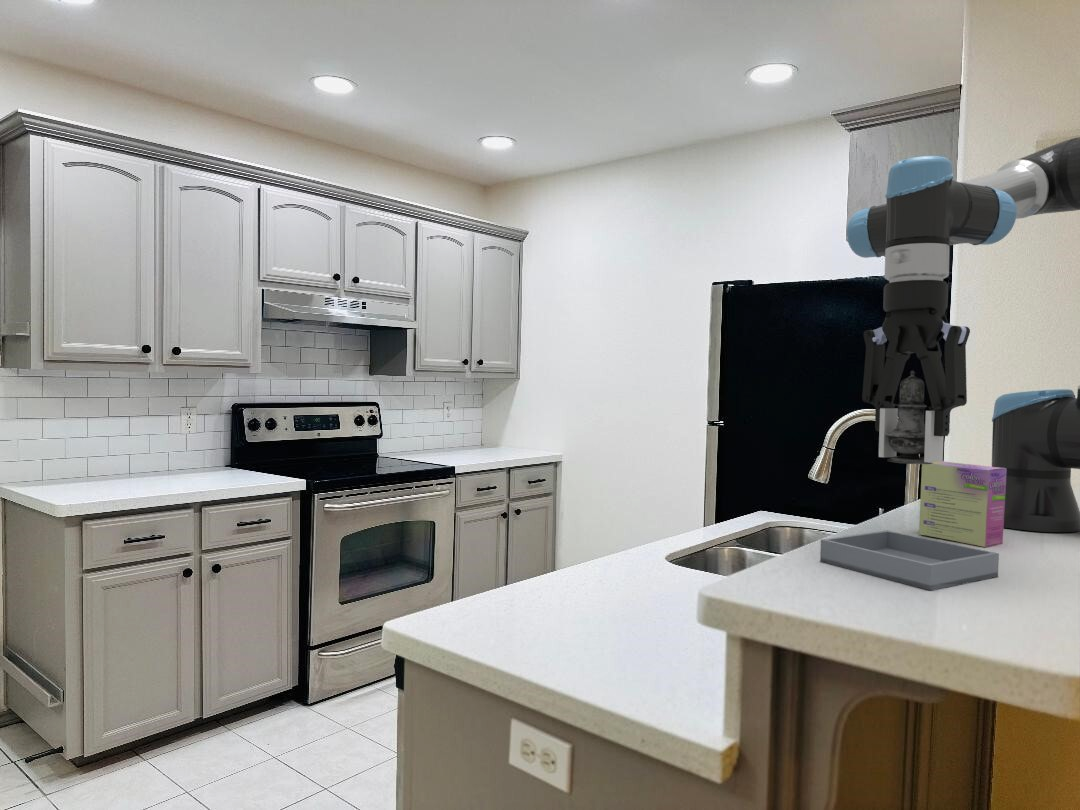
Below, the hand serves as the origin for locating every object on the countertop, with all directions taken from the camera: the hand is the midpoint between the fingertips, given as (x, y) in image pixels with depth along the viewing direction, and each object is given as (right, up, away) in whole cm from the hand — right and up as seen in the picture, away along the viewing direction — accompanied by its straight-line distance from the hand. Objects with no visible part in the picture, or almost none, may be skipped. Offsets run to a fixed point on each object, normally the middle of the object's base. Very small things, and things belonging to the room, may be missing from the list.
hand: (909, 458), depth 101 cm
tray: (0, -14, +1) cm, 14 cm away
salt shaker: (0, -1, 0) cm, 1 cm away
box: (+17, -14, +20) cm, 30 cm away
